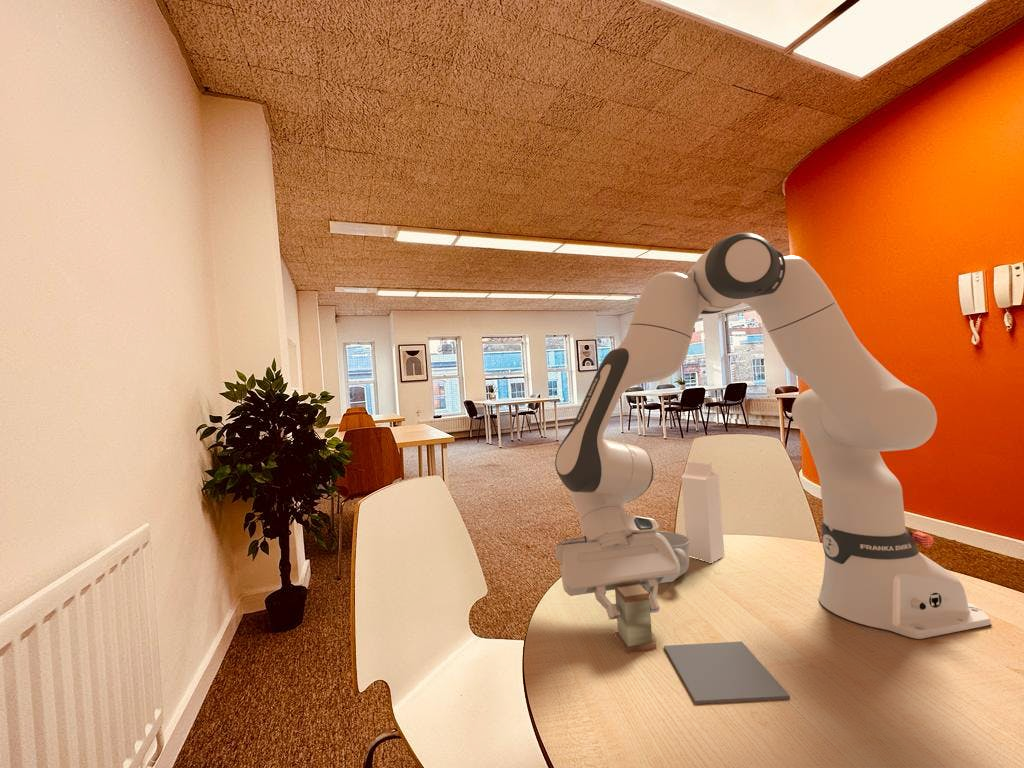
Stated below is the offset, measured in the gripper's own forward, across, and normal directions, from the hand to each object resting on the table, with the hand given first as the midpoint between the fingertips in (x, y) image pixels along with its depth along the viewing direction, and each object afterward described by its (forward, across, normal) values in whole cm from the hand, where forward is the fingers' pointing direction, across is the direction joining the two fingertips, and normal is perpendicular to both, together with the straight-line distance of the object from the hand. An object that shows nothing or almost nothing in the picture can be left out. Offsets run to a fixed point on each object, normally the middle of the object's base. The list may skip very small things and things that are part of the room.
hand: (634, 614), depth 69 cm
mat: (+10, +8, -3) cm, 13 cm away
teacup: (-11, +17, +18) cm, 27 cm away
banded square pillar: (+3, 0, +4) cm, 5 cm away
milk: (-16, +30, +23) cm, 41 cm away
